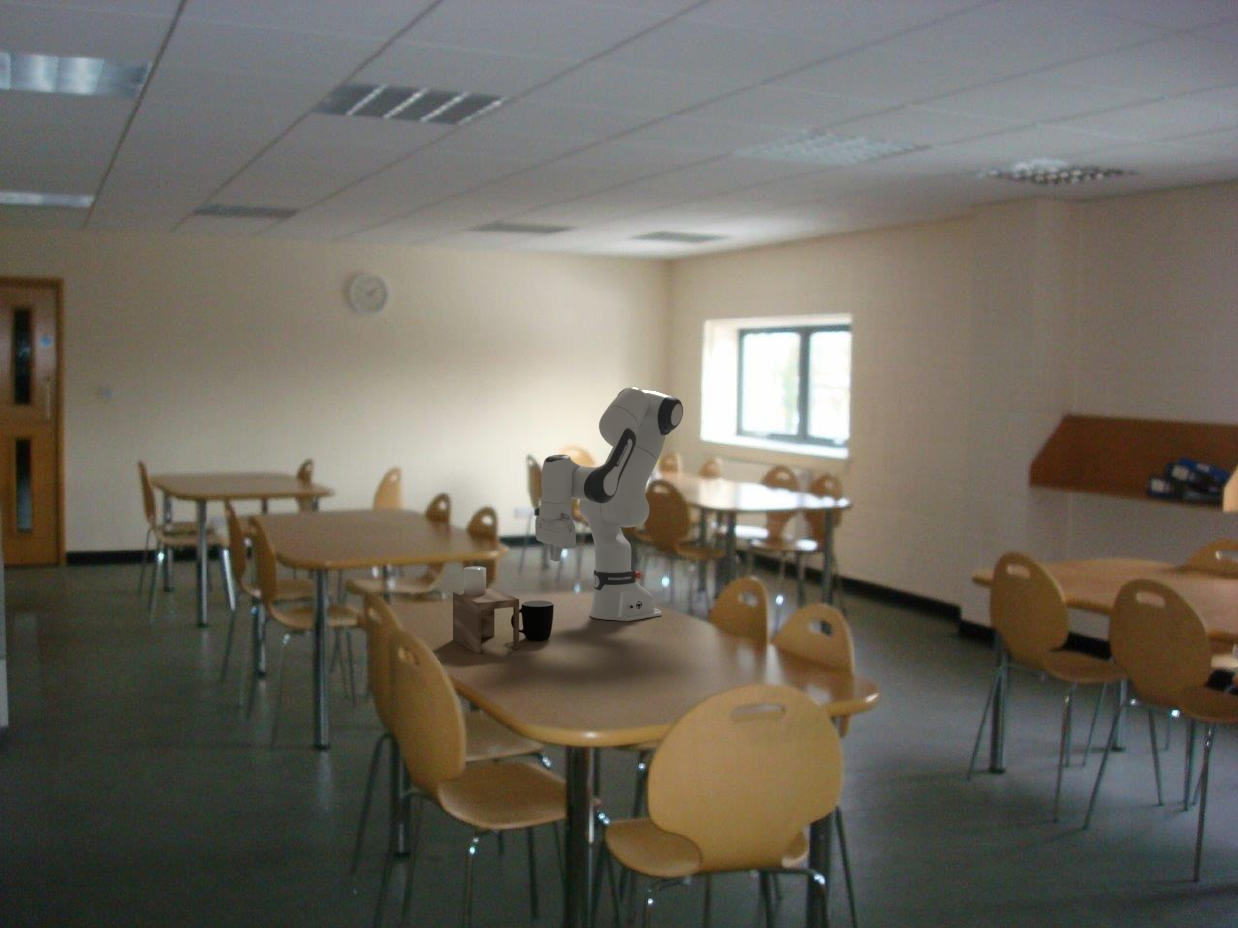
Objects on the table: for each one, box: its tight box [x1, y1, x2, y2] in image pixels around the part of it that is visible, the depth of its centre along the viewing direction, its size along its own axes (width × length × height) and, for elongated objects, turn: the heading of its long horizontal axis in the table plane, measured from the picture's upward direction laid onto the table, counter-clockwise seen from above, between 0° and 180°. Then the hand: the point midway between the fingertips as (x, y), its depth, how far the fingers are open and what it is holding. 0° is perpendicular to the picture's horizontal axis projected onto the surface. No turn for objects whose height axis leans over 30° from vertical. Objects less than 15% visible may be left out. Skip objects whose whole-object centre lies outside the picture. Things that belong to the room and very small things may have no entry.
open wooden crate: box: [452, 588, 520, 654], centre depth 318 cm, size 12×18×14 cm, turn 29°
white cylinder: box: [463, 566, 487, 595], centre depth 320 cm, size 6×6×7 cm
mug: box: [510, 599, 555, 642], centre depth 325 cm, size 12×9×10 cm
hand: (555, 560), depth 330 cm, fingers closed
